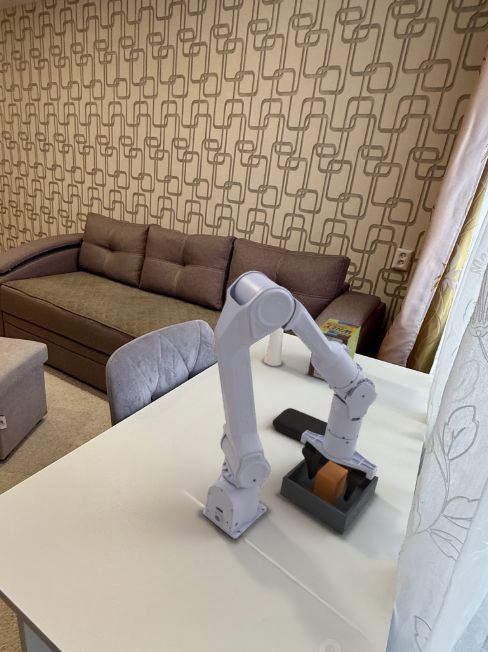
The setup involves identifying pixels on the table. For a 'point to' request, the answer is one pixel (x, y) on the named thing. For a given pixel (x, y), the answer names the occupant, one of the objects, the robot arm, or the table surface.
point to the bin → (332, 515)
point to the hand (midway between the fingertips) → (329, 487)
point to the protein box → (338, 338)
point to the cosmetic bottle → (274, 348)
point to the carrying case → (298, 423)
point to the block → (330, 482)
